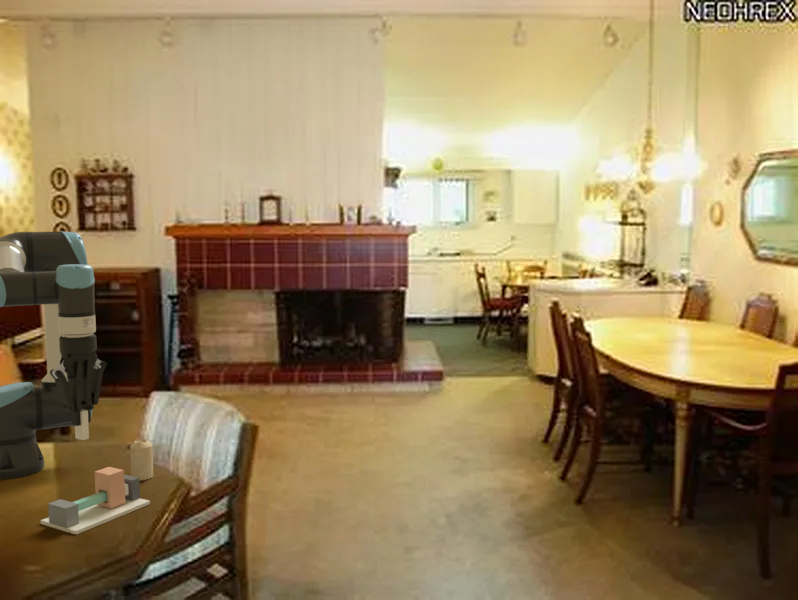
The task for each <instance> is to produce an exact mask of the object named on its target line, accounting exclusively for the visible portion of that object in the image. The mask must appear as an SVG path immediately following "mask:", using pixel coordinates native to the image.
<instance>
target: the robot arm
mask: <svg viewBox="0 0 798 600" xmlns="http://www.w3.org/2000/svg"><path fill="white" fill-rule="evenodd" d="M86 251H87V250H86V248H85V244H84V241H83V238H82V237H81V235H80V234H79V233H78V232H74V231H63V230H61V231H18V232H12V233H8V234H6V235H3V236H0V308H3V307H18V306H36V305H37V306H39V305H40V306H41V305H43V312H44V315H43V316H44V331H45V348H46V351H45V352H46V370H47V373H46V375H44V377H43V378H42V379H41V386H37V387H34V386H35V385H34V383H33V382H30V381H26V382H25V381H24V382H14V383H10V384H6V385H5V384H4V385H3V386H0V480H10V479H16V478H23V477H25V476H30V475H34V474H35V473H38V472H40V471H42V470H43V469H44V468H45V457H44V456H43V452H42V451H41V449H40V446H39V443H38V442H37V436H36V431H39V430H40V431H41V430H46V429H54V428H62V427H70V426H71V427H74V434H75V436H74V438H75V439H76V440H82V441H85V440H89V439H90V431H89V428H90V427H89V424H90V423H91V421H92V416H93V409H94V408H95V406H96V405H98V403H99V400H100V394H101V389H102V383H103V375H104V372H105V369H106V367H107V365H108V363H107V361H102V360H100V359H99V358H98V355H97V353H96V351H97V350H98V347H97V335H96V334H95V333H96V331H97V323H96V308H95V307H96V305H95V304H96V303H95V297H96V296H95V282H96V278H95V274H94V268H93V266H92V265H90V264H88V258H87V257H88V256H87V252H86Z"/></svg>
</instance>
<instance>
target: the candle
mask: <svg viewBox="0 0 798 600" xmlns="http://www.w3.org/2000/svg"><path fill="white" fill-rule="evenodd" d="M129 456H130V457H129V458H130V476H133V477H137V478H139V482H140V481H141V482H143V481H147V479H148V480H150V478H151V479H152V478H153V477H154V460H153V444H152V443H151V442H150V441H149V440H147V439H145V438H142V439H141V438H140V439H138V440H134V441H133V443H131V445H130V446H129ZM142 480H143V481H142Z"/></svg>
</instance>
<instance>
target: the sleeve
mask: <svg viewBox="0 0 798 600" xmlns="http://www.w3.org/2000/svg"><path fill="white" fill-rule="evenodd" d="M124 475H125V470H124V469H121V468H117V467H116V468H115V467H112V466H107V467H104V468H102V469H98V470H95V471H94V488H95V489H94V491H95V493H94V494H96V493H99V492H102V491H107V501H104V502H102V503H99V504H96V505H100V506H103V507H107V508H114V507H116V506H119V505H121V504H124V503H125V483H124Z"/></svg>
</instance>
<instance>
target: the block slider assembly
mask: <svg viewBox="0 0 798 600" xmlns="http://www.w3.org/2000/svg"><path fill="white" fill-rule="evenodd" d="M124 483H125V503H124V504H121V505H119V506H116V507H114V508H107V507H103V506H100V505H96V504H99V503H102V502H104V501H107V491H102V492H99V493H93V494H91V495H88V496H85V497H83V498H80V499H78V500H73V501H69V500H65V499H61V498H59V499H57V500H54V501H51V502H48V503H47V506H48V508H47V509H48V517H46V518H42V519H40V525H44V526H47V527H50V528H53V529H55V530H60V531H63V532H66V533H69V532H70V533H69V534H73V535H75V534H76V535H79V534H81V533H84V532H86V531H88V530H91V529H93V528H96V527H98V526H101V525H103V524H105V523H108V522H111V521H113V520H115V519H118V518H119V517H122V516H125V515H127V514H129V513H132V512H134V511H137V510H140V509H141V508H144V507H146V506H149V505H150V504H151V500H148V499H144V498H141V496H140V495H141V494H140V493H141V491H140V490H141V489H140V481H139V478H137V477H133V476H131V475H128V474H124Z"/></svg>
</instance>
